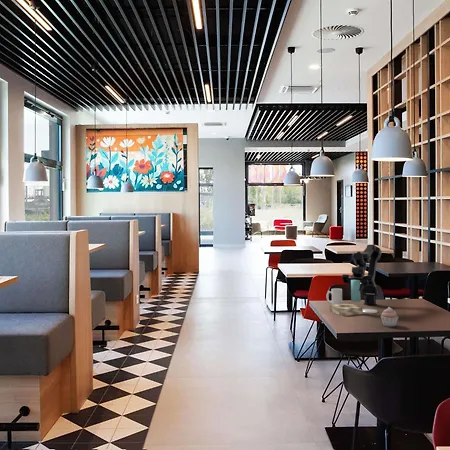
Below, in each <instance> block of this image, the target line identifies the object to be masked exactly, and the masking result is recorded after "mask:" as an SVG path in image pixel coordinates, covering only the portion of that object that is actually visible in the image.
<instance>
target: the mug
mask: <svg viewBox="0 0 450 450" xmlns="http://www.w3.org/2000/svg"><path fill="white" fill-rule="evenodd" d="M329 294H330V295H331V300H330V299H329ZM326 302H327V303H328V304H330V305H337V304H343V289H342V288H336V287H335V288H331V291H330V290H327V293H326Z"/></svg>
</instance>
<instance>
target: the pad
mask: <svg viewBox="0 0 450 450" xmlns="http://www.w3.org/2000/svg"><path fill="white" fill-rule="evenodd" d="M377 313H378V309H374V308H363V314H377Z"/></svg>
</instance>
